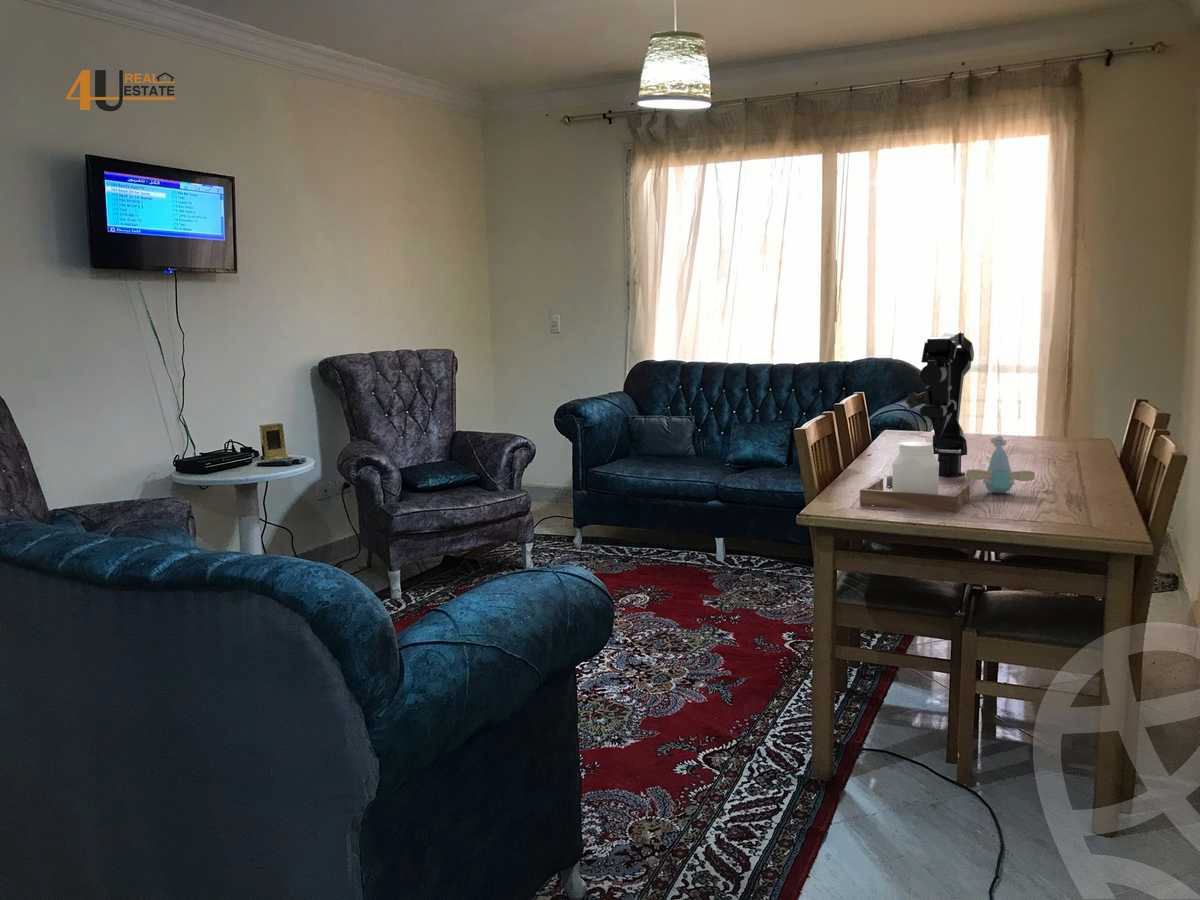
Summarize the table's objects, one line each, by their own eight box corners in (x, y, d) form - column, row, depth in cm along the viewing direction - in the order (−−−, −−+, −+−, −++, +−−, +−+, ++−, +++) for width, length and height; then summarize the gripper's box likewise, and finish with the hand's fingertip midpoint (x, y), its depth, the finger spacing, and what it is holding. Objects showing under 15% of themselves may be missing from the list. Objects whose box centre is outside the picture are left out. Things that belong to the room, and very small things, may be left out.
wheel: (897, 483, 270) (897, 474, 269) (913, 486, 265) (913, 477, 264) (882, 485, 267) (882, 476, 267) (898, 488, 262) (898, 479, 261)
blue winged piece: (1030, 490, 254) (1032, 434, 252) (1034, 497, 244) (1036, 440, 242) (964, 488, 260) (965, 434, 257) (965, 495, 250) (966, 439, 247)
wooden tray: (878, 492, 258) (878, 478, 257) (969, 499, 245) (969, 483, 245) (859, 505, 243) (859, 489, 242) (955, 512, 230) (955, 496, 230)
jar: (888, 502, 245) (888, 445, 242) (896, 495, 253) (897, 440, 251) (934, 506, 239) (935, 447, 237) (941, 498, 247) (942, 442, 245)
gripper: (917, 379, 274) (916, 433, 276) (901, 385, 258) (900, 441, 260) (957, 380, 268) (956, 434, 270) (943, 385, 252) (942, 443, 255)
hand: (938, 438), depth 264 cm, fingers closed
